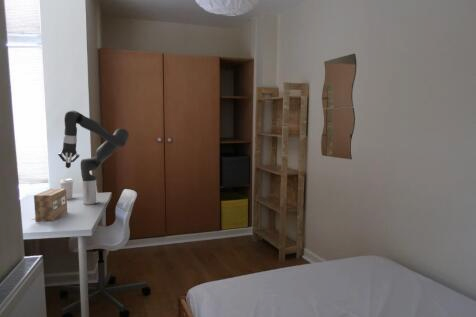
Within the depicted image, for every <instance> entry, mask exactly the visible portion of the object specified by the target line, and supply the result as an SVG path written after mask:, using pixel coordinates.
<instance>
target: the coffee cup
mask: <svg viewBox="0 0 476 317" xmlns="http://www.w3.org/2000/svg"><path fill="white" fill-rule="evenodd" d="M59 183H60V189H66V197H67V200H72V199H73V188H74V180H73V178H63V179H60V181H59Z"/></svg>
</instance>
